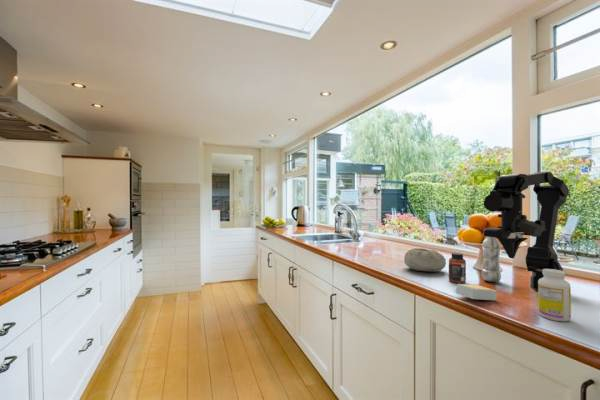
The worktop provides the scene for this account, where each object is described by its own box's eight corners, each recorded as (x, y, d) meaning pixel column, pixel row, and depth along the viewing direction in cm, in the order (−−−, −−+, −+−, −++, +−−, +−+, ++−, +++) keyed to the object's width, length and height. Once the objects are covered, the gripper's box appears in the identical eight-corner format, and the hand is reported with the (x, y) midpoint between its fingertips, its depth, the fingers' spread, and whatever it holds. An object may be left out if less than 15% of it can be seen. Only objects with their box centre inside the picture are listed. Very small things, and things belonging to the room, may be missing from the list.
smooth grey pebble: (433, 266, 140) (433, 246, 140) (454, 275, 122) (454, 252, 122) (398, 266, 139) (398, 246, 139) (414, 275, 121) (414, 252, 121)
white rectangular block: (479, 285, 96) (457, 283, 93) (496, 290, 90) (473, 288, 87) (478, 294, 96) (456, 293, 93) (495, 300, 90) (472, 298, 87)
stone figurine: (480, 281, 112) (480, 231, 113) (483, 278, 117) (483, 230, 118) (499, 284, 108) (499, 233, 108) (502, 281, 113) (502, 231, 113)
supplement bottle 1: (468, 284, 108) (468, 255, 108) (451, 283, 109) (451, 254, 109) (462, 280, 114) (462, 252, 114) (446, 279, 115) (446, 251, 115)
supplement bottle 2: (554, 312, 80) (554, 267, 80) (578, 322, 74) (577, 273, 74) (531, 312, 80) (531, 267, 80) (553, 322, 73) (553, 273, 74)
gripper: (517, 212, 83) (517, 264, 83) (558, 212, 89) (558, 261, 89) (482, 211, 94) (482, 257, 94) (521, 211, 100) (521, 255, 100)
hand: (511, 258), depth 94 cm, fingers closed
